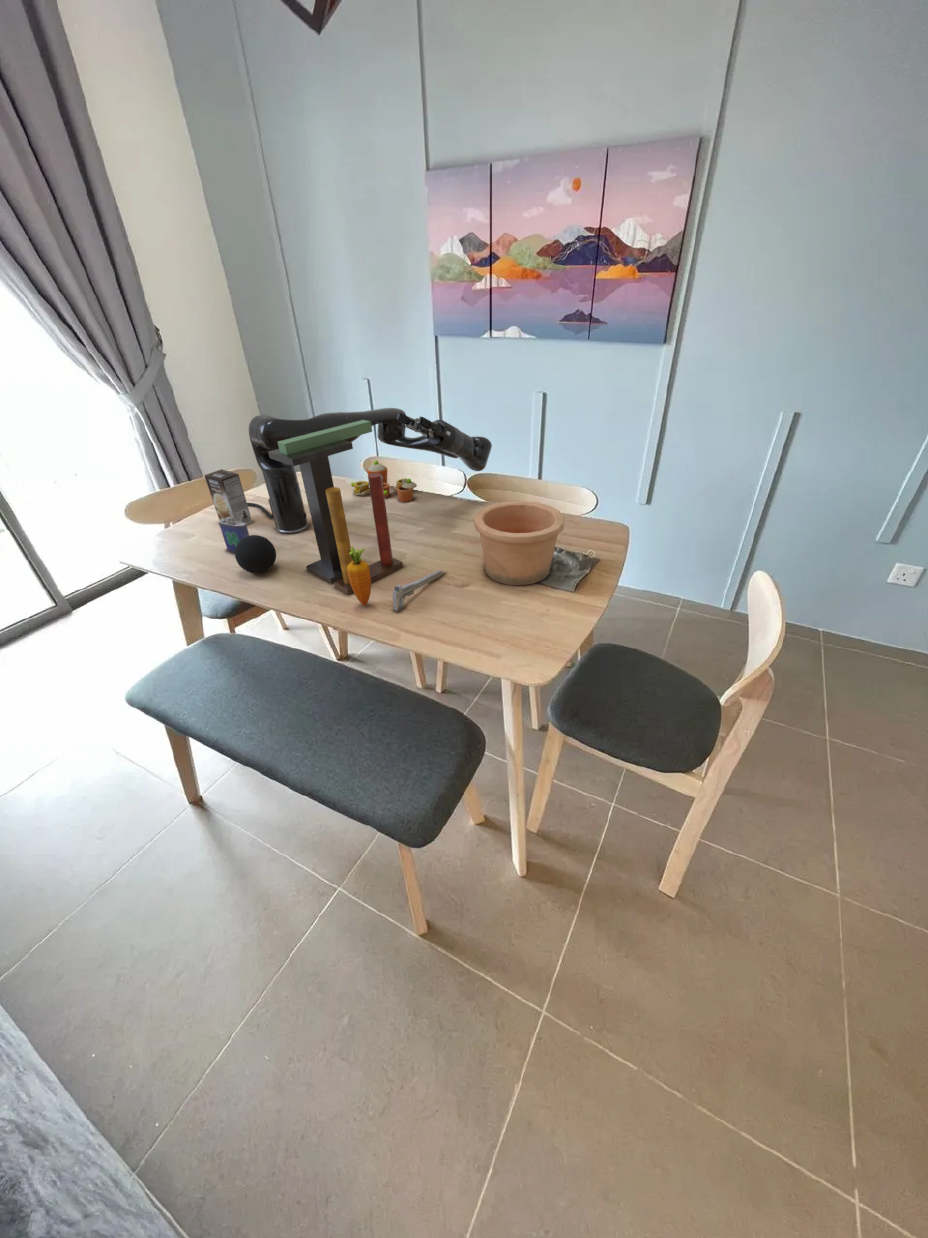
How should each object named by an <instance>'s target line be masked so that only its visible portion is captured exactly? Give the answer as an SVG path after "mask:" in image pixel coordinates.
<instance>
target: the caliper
mask: <svg viewBox="0 0 928 1238" xmlns="http://www.w3.org/2000/svg"><path fill="white" fill-rule="evenodd" d="M443 574H445V571H442V570H439V569H438V570H435V571H433V572H431V573H430V574H428V575H425V576H423V577H421V578H420V579H418V580H415V581H413V582H408V583H406V584H403V585H402V584H397V585H394V590H393V591H392V597H391V598H392V599H391V600H392V606H393V610H394V611H397V612H399V610H403V609H404V605H405V601H406V597H410V596H411V595H414V592H415V591H416V590H418V589H420V588H421V587H423V586H425V585H427V584H429V583H431V582H433V581H435V580H437V579H439V578H441V577H442V575H443Z"/></svg>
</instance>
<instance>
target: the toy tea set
mask: <svg viewBox="0 0 928 1238" xmlns="http://www.w3.org/2000/svg"><path fill="white" fill-rule="evenodd" d="M366 472H367V476H368V475H369V474H372V473H380V474H381V475H382V483H383V490H384V498H385V499H386V498H389V497H390V489H391V488H390V486H391V485H390V483H388V467H387V466H386V465H384V464H382V463H379V461H378V460H374V461H373V463H372V464H371V465H370V466H369V467H367V469H366ZM350 486H351V487H352V488H354V489H353V490H352V492H353V494H354V495H355V496H366V495H369V494H370V487H369V481H366V480H360V481H355V482H351V483H350ZM416 487H418V485H417V483H415V482H414V481H412V480H411V478H407V477H406V478H400V479H398V480H396V484H395V486H394V487H393V488H392V490H393V491H395V492H396V493H397V497H398V500H399V501H400V502H402V503H408V502H412V500H413V496H414V493H413V492H414V488H416Z"/></svg>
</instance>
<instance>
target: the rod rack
mask: <svg viewBox="0 0 928 1238" xmlns="http://www.w3.org/2000/svg"><path fill="white" fill-rule="evenodd" d="M367 480H368V482H369V488H370V493H369V494H370V499H371V506H372V515H373V520H374V527H375V533H376V539H377V547H378V553H379V560H378V561H376V562H374V563H372V564H370V565H369V564H368V566H369V569H370V577H371V584H372V583H374V582H376V581H379V580H380V579H382V578H384V577H386V576H388V575H390V574H393V573H394V572H396V571H398V570H400V569H401V568H404V565H403V561H401V560H399V559H397V558H395V557H393V552H392V543H391V537H390V528H389V522H388V521H389V520H388V513H387V505H386V498H384V490H383V483H382V475H381V474H380V473H372V474H369V475H368V474H367ZM326 496H327V501H328V506H329V510H330V515H331V520H332V525H333V530H334V535H335V540H336V545H337V550H338V555H339V560H340V565H341V569H342V574H343V579H341V580H338V581H336V582H334V583H333V584H334V588H335V589H337V590H339V591H341V592H343V593H345V594H346V595H351V594H353V593H354V591H353V589H352V586H351V584H350V580H349V576H348V571H347V566H348V565H349V564H350V563H351V562H352V561H353V559H352V558H351V556H350V552H351V549H350V548H351V547H352V546H351V540H350V536H349V530H348V524H347V518H346V512H345V507H344V501H343V496H342V490H341V488H340V487H337V486H334V487H332V488H328V489H326Z"/></svg>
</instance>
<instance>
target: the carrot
mask: <svg viewBox="0 0 928 1238" xmlns="http://www.w3.org/2000/svg"><path fill="white" fill-rule="evenodd" d="M350 549H351V552H350V556H351V558H352V559H353V561H352V562H351V563H350V564H349V565H348V566H347V571H348V576H349V580H350V584H351V586H352V589H353V591H354V592H353V593H354V596H355V597H356V599H357V600H358V602H359V603H360V604H361V605H362V606H364V607H366V606H367V605H368V602H369V600H370V596H371V593H372V591H371V590H372V583H371V577H370V569H369V563H367V562H366V560H363V558H362V557H361V555H362V554H363V552H364V551H365V550H366V549H365V548H362V549H360V550H359V549H355V547H354V546H351V548H350Z"/></svg>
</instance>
